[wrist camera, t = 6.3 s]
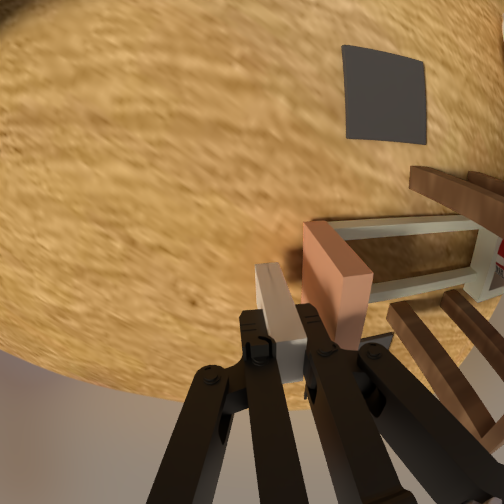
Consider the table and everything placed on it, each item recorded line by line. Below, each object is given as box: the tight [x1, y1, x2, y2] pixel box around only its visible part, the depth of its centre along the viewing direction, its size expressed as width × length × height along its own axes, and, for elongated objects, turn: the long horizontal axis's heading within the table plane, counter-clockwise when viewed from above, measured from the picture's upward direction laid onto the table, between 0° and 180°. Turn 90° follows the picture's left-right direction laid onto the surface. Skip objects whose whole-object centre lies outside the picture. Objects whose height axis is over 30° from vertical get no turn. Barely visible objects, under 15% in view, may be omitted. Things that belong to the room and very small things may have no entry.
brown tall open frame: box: [386, 166, 504, 454], centre depth 13 cm, size 13×8×15 cm, turn 3°
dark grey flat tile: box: [358, 332, 393, 351], centre depth 24 cm, size 6×6×1 cm
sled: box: [301, 215, 504, 350], centre depth 16 cm, size 9×26×7 cm, turn 93°
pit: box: [341, 45, 426, 145], centre depth 14 cm, size 6×6×1 cm
